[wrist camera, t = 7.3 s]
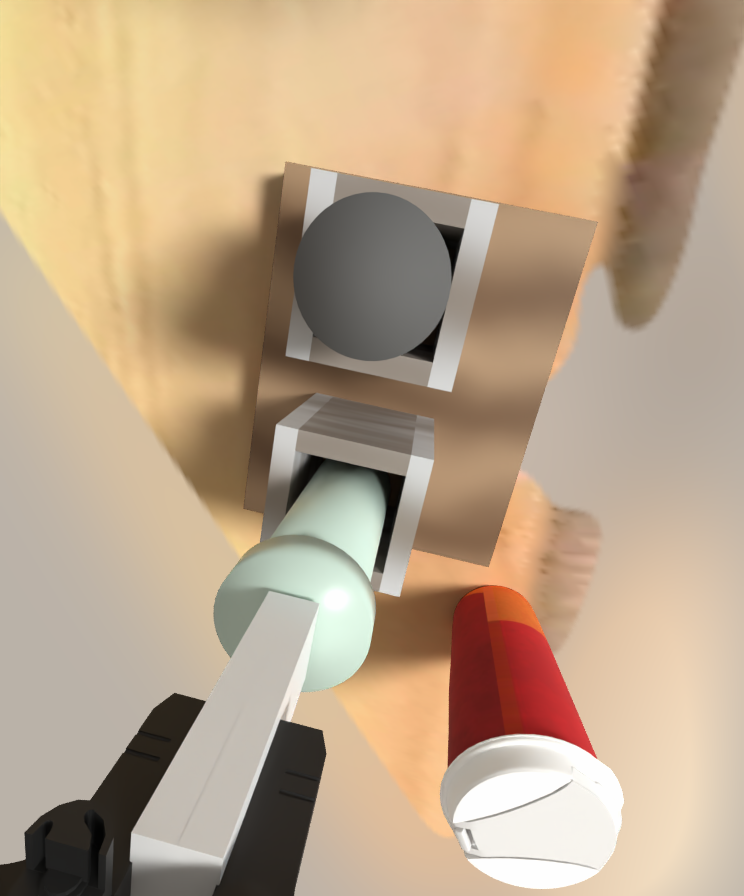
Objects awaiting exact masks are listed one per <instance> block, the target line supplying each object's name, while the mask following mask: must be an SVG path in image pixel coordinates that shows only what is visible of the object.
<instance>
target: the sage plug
mask: <svg viewBox="0 0 744 896" xmlns="http://www.w3.org/2000/svg"><path fill="white" fill-rule="evenodd" d="M390 492H391V485H390V479H389V476H388V474H387V472H385V471H381V470H376V469H372V468H368V467H363V466H359V465H355V464H350V463H346V462H341V461H337V460H333V459H328V458H327V459H326V460H325V461H324V462H323V463H322V464H321V465H320V467H319V468H318V470H317V471H316V473H315V474H314V475H313V477H312V478H311V480H310V481H309V483H308V484H307V486H306V487H305V488H304V490H303V491H302V493H301V494H300V496H299V497H298V499H297V500H296V501H295V503H294V504H293V506H292V507H291V509H290V510H289V512H288V513H287V514H286V516H285V517H284V519H283V520H282V522H281V523H280V525H279V526H278V527H277V529H276V530H275V532H274V533H273V535H272V536H271V538H270V539H267V540H264V541H262V542H260V543H258V544H257V545H255V546H254V547H252V548H251V549H250V550H248V551H247V552H246V553H245V554H244V555H243V556H242V558H241V559H240V560H239V562H238V563H237V564H236V566H235V567H234V568H233V570H232V571H231V572H230V574H229V575H228V576H227V578H226V579H225V580H224V582H223V583H222V585H221V587H220V589H219V590H218V593H217V596H216V598H215V604H214V624H215V628H216V632H217V635H218V637H219V640H220V642H221V644H222V646H223V648H224V649H225V651H226V652H227V654H228V655H229V656H230V658H231V657H232V655H233V654H234V652H235V650H236V648H237V647H238V645H239V643H240V641H241V640H242V638H243V636H244V634H245V633H246V631H247V629H248V627H249V626H250V624H251V622H252V620H253V619H254V617H255V615H256V613H257V611H258V610H259V608H260V606H261V604H262V603H263V601H264V599H265V597H266V596H267V594H268V592H269V591H272V592H276V593H280V594H284V595H288V596H292V597H296V598H300V599H304V600H308V601H312V602H316V603H320V604H319V609H318V615H317V620H316V625H315V630H314V635H313V641H312V646H311V651H310V656H309V662H308V667H307V672H306V677H305V680H304V683H303V686H302V689H301V692H313V691H320V690H325V689H329V688H331V687H334V686H336V685H338V684H340V683H342V682H344V681H345V680H347V679H348V678H349V677H351V676H352V675H353V674H354V673H355V672H356V671H357V670H358V669H359V668H360V666H361V665H362V663H363V662H364V660H365V658H366V656H367V654H368V651H369V648H370V643H371V637H372V632H373V627H374V621H375V615H376V601H375V594H374V591H373V588H372V585H371V583H370V582H371V577H372V573H373V568H374V564H375V559H376V555H377V551H378V546H379V542H380V537H381V533H382V528H383V524H384V520H385V515H386V511H387V506H388V502H389V497H390Z"/></svg>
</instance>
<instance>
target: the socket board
mask: <svg viewBox="0 0 744 896" xmlns="http://www.w3.org/2000/svg"><path fill="white" fill-rule="evenodd" d="M364 192H380V193H388V194H391V195H395V196H398V197H400V198H403V199H405V200H407V201H409V202H411V203H412V204H414V205H415V206H417V207H418V208H419V209H421V210H422V211H423V212H424V213H425V214H426V215H427V216H428V217H429V218H430V219H431V220H432V221H433V223H434V224H435V226H436V227H437V228H438V230H439V231H440V233H441V235H442V237H443V239H444V241H445V244H446V247H447V250H448V253H449V258H450V263H451V289H450V294H449V299H448V302H447V305H446V308H445V311H444V313H443V315H442V317H441V319H440V321H439V322H438V324H437V326H436V327H435V328H434V330H433V331H432V332H431V334H430V335H429V336H428V337H427V338H426V339H425V340H424V341H423V342H422V343H420V344H419V345H418V346H416V347H415V348H414V349H412V350H410V351H408V352H407V353H405V354H403V355H400V356H398V357H395V358H391V359H387V360H381V361H363V360H356V359H353V358H349V357H346V356H344V355H341V354H339V353H337V352H335V351H334V350H332V349H330V348H329V347H328V346H326V345H325V344H324V343H322V342H321V341H320V340H319V339H318V338H317V337H316V336H315V335H314V333H313V332H312V331H311V330H310V328H309V327H308V325H307V324H306V322H305V320H304V319H303V317H302V314H301V312H300V310H299V308H298V304H297V301H296V297H295V292H294V283H293V271H294V262H295V257H296V253H297V250H298V247H299V244H300V242H301V240H302V237H303V235H304V233H305V232H306V230H307V229H308V227H309V226H310V224H311V223H312V222H313V221H314V219H315V218H316V217H317V216H318V215H319V214H320V213H321V212H322V211H323V210H324V209H326V208H327V207H329V206H330V205H331V204H333V203H334V202H336V201H338V200H340V199H342V198H345V197H348V196H351V195H354V194H359V193H364ZM597 223H598V222H596V221H591V220H586V219H580V218H575V217H570V216H565V215H560V214H555V213H549V212H544V211H539V210H534V209H529V208H523V207H518V206H513V205H508V204H503V203H498V202H492V201H487V200H482V199H477V198H472V197H467V196H461V195H456V194H451V193H446V192H441V191H435V190H430V189H425V188H420V187H415V186H410V185H404V184H399V183H394V182H389V181H384V180H379V179H373V178H368V177H363V176H358V175H353V174H347V173H342V172H337V171H332V170H327V169H322V168H316V167H311V166H306V165H301V164H296V163H291V162H286V163H285V171H284V179H283V188H282V196H281V204H280V212H279V220H278V229H277V237H276V245H275V253H274V262H273V270H272V278H271V286H270V295H269V303H268V311H267V319H266V328H265V336H264V344H263V352H262V361H261V369H260V377H259V385H258V394H257V402H256V410H255V418H254V426H253V435H252V443H251V451H250V459H249V468H248V476H247V484H246V492H245V501H244V509H247V510H251V511H256V512H260V513H264V517H263V524H262V531H261V539H260V542H262V541H264V540H267V539H270V538H271V536H272V535H273V533H274V532H275V530H276V529H277V527H278V526H279V525H280V523H281V522H282V520H283V519H284V517H285V516H286V514H287V513H288V512H289V510H290V509H291V507H292V506H293V504H294V503H295V501H296V500H297V499H298V497H299V496H300V494H301V493H302V491H303V490H304V488H305V487H306V486H307V484H308V483H309V481H310V480H311V478H312V477H313V475H314V474H315V473H316V471H317V470H318V468H319V467H320V465H321V464H322V463H323V462H324V461H325V460H326V459H327V458H328V459H333V460H337V461H341V462H346V463H350V464H355V465H359V466H363V467H368V468H372V469H376V470H381V471H385V472H387V474H388V476H389V479H390V485H391V492H390V497H389V502H388V506H387V511H386V515H385V520H384V524H383V528H382V533H381V537H380V542H379V546H378V551H377V555H376V559H375V564H374V568H373V573H372V577H371V582H370V583H371V585H372V588H373V591H377V592H381V593H385V594H389V595H393V596H398V597H400V593H401V589H402V585H403V581H404V577H405V573H406V570H407V566H408V562H409V558H410V554H411V550H412V549H415V550H419V551H423V552H427V553H432V554H436V555H440V556H444V557H448V558H452V559H457V560H461V561H465V562H469V563H473V564H478V565H482V566H486V567H489V564H490V561H491V558H492V555H493V552H494V549H495V545H496V542H497V539H498V536H499V533H500V530H501V526H502V523H503V520H504V517H505V514H506V511H507V508H508V504H509V501H510V498H511V495H512V492H513V489H514V485H515V482H516V479H517V476H518V473H519V470H520V466H521V463H522V460H523V457H524V454H525V450H526V448H527V444H528V441H529V438H530V435H531V432H532V429H533V425H534V422H535V419H536V416H537V413H538V409H539V406H540V403H541V400H542V397H543V394H544V391H545V387H546V384H547V381H548V378H549V375H550V372H551V369H552V365H553V362H554V359H555V356H556V353H557V350H558V346H559V343H560V340H561V337H562V334H563V331H564V327H565V324H566V321H567V318H568V315H569V312H570V308H571V305H572V302H573V299H574V296H575V293H576V290H577V286H578V283H579V280H580V277H581V274H582V271H583V267H584V264H585V261H586V258H587V255H588V252H589V248H590V245H591V242H592V239H593V236H594V233H595V230H596V226H597Z"/></svg>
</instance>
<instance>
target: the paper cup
mask: <svg viewBox="0 0 744 896" xmlns="http://www.w3.org/2000/svg"><path fill="white" fill-rule="evenodd" d="M440 800H441V806H442V810H443V813H444V815H445V817H446V819H447V821H448V823H449V825H450V827H451V828H452V830H453V832H454V834H455V836H456V838H457V839H458V841H459V844H460V846H461V848H462V849H463V850H464V854H465V857H466V858H467V860H469V861H470V863H472V864H473V865H474V866H475V867H476V868H478V869H479V870H480V871H482V872H484V873H485V874H487V875H489V876H491V877H492V878H495V879H497V880H499V881H502V882H504V883H508V884H511V885H515V886H521V887H526V888H538V889H548V888H558V887H565V886H569V885H572V884H576V883H579V882H581V881H584V880H586V879H588V878H590V877H591V876H593V875H595V874H596V873H598V872H599V871H600V870H601V869H602V867H603V866H604V865H605V863H606V862H607V861H608V859H609V858H610V856H611V855H612V853H613V852H614V849H615V846H616V842H617V835H618V833H619V830H620V828H621V824H622V817H621V812H620V811H621V808H622V805H623V802H624V800H623V794H622V790H621V787H620V785H619V782H618V780H617V778H616V777H615V775H614V773H613V772H612V770H611V769H610V768H608V767H607V766H605V765H604V764H603V763H601V762H600V761H599V760H597V757H596V755H595V752H594V750H593V748H592V745H591V743H590V741H589V738H588V736H587V734H586V731H585V729H584V726H583V724H582V722H581V719H580V717H579V715H578V712H577V710H576V708H575V705H574V703H573V700H572V698H571V696H570V693H569V691H568V689H567V686H566V684H565V682H564V679H563V677H562V675H561V672H560V670H559V668H558V665H557V663H556V660H555V658H554V656H553V653H552V651H551V649H550V646H549V644H548V642H547V640H546V637H545V635H544V633H543V630H542V628H541V626H540V624H539V621H538V619H537V617H536V615H535V613H534V611H533V609H532V607H531V605H530V604H529V603H528V601H527V600H526V599H525V598H524V597H523V596H522V595H521V594H519V593H518V592H516V591H514V590H512V589H509V588H506V587H502V586H485V587H480V588H477V589H475V590H473V591H471V592H469V593H468V594H466V595H465V596H464V597H463V598H462V599H461V600H460V601H459V603H458V604H457V606H456V609H455V612H454V617H453V627H452V647H451V667H450V682H449V740H448V769H447V771H446V772H445V774H444V777H443V780H442V782H441V789H440Z"/></svg>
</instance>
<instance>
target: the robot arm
mask: <svg viewBox="0 0 744 896" xmlns="http://www.w3.org/2000/svg"><path fill="white" fill-rule="evenodd" d="M319 604H320V603H316V602H312V601H308V600H304V599H300V598H296V597H292V596H288V595H284V594H280V593H276V592H272V591H269V592H268V594H267V596H266V597H265V599H264V601H263V603H262V604H261V606H260V608H259V610H258V611H257V613H256V615H255V617H254V619H253V620H252V622H251V624H250V626H249V627H248V629H247V631H246V633H245V634H244V636H243V638H242V640H241V641H240V643H239V645H238V647H237V648H236V650H235V652H234V654H233V655H232V657H231V659H230V661H229V662H228V664H227V666H226V668H225V669H224V671H223V673H222V675H221V676H220V678H219V680H218V682H217V683H216V685H215V687H214V689H213V691H212V692H211V694H210V696H209V697H208V699H207V701H203V700H199V699H196V698H191V697H188V696H184V695H180V694H177V693H174V694H172V695H171V696H170V697H169V698H167V699H166V700H164V701H163V702H162V703H160V704H159V705H158V706H157V707H155V708H154V709H153V710H152V712H151V713H150V714H149V716H148V717H147V719H146V720H145V722H144V723H143V725H142V726H141V728H140V729H139V731H138V733H137V735H135V736H134V738H133V739H132V741H131V742H130V743H129V745H128V746H127V748H126V751H125V752H124V753H123V754H122V755H121V756H120V758H119V759H118V761H117V762H116V764H115V765H114V767H113V768H112V770H111V771H110V772H109V774H108V775H107V777H106V778H105V780H104V781H103V783H102V784H101V786H100V787H99V788H98V790H97V791H96V793H95V794H94V796H93V797H92V798H91V800H76V801H72V802H69V803H65V804H62V805H59V806H57V807H55V808H54V809H52V810H51V811H49V812H47V813H45V814H44V815H42V816H41V817H40V818H39V819H38V820H37V821H36V822H35V823H34V824H33V825H32V826H31V827H30V828H29V829H28V830H27V831H26V832H25V851H26V859H25V860H23V861H19V862H15V863H10V864H4V865H0V896H294V891H295V887H296V882H297V878H298V874H299V870H300V865H301V861H302V857H303V853H304V848H305V844H306V840H307V836H308V831H309V827H310V823H311V819H312V815H313V811H314V806H315V802H316V798H317V793H318V789H319V784H320V780H321V775H322V771H323V766H324V762H325V757H326V749H325V743H324V737H323V731H322V730H318V729H314V728H311V727H307V726H303V725H299V724H296V723H292V722H290V721H291V718H292V715H293V713H294V710H295V707H296V704H297V701H298V698H299V695H300V692H301V689H302V686H303V683H304V680H305V677H306V672H307V667H308V662H309V656H310V651H311V646H312V641H313V635H314V630H315V625H316V620H317V615H318V609H319Z"/></svg>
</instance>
